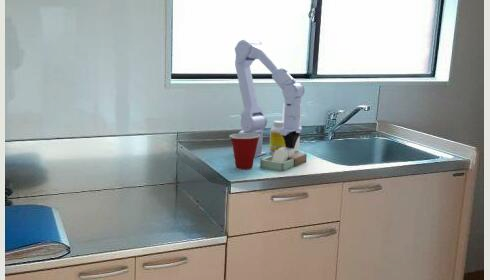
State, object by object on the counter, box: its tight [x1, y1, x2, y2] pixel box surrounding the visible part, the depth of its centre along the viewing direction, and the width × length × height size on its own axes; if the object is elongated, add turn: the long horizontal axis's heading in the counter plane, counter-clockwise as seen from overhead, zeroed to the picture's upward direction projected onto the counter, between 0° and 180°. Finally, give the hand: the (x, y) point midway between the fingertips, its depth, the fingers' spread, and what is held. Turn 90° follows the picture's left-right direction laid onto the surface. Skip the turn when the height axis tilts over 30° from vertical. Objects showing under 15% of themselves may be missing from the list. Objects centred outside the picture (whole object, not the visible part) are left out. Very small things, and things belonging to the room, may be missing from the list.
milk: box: [281, 101, 302, 153], centre depth 220 cm, size 6×6×22 cm
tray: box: [259, 154, 295, 172], centre depth 193 cm, size 9×9×3 cm
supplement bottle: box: [269, 120, 286, 155], centre depth 214 cm, size 7×7×13 cm
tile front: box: [271, 150, 289, 163], centre depth 194 cm, size 4×4×2 cm
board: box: [270, 152, 308, 168], centre depth 201 cm, size 10×10×3 cm
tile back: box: [278, 147, 295, 157], centre depth 198 cm, size 4×4×2 cm
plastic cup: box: [229, 132, 260, 171], centre depth 189 cm, size 11×11×12 cm
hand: (289, 151), depth 201 cm, fingers closed
